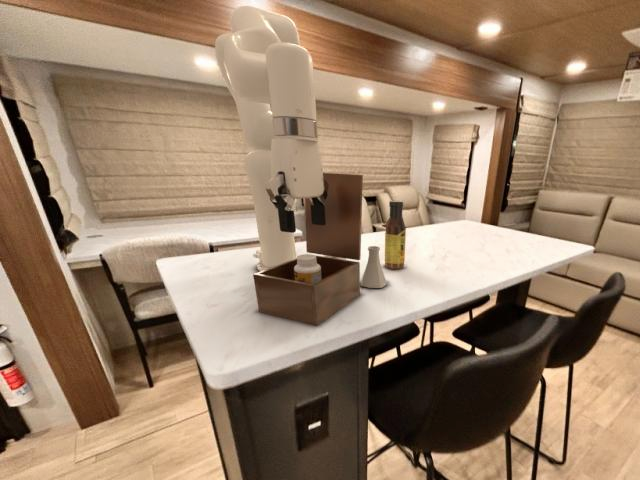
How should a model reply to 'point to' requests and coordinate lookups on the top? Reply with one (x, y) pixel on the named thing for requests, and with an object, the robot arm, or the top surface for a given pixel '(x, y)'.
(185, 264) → the top surface
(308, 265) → the supplement bottle
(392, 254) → the sauce bottle
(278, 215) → the robot arm
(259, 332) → the top surface
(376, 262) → the flask
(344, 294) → the brown wooden box
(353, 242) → the lid
